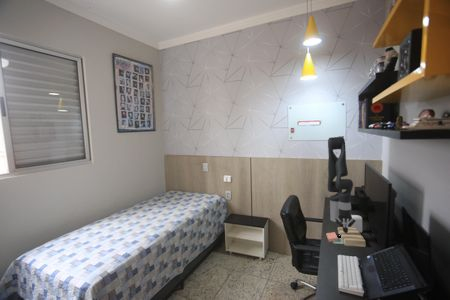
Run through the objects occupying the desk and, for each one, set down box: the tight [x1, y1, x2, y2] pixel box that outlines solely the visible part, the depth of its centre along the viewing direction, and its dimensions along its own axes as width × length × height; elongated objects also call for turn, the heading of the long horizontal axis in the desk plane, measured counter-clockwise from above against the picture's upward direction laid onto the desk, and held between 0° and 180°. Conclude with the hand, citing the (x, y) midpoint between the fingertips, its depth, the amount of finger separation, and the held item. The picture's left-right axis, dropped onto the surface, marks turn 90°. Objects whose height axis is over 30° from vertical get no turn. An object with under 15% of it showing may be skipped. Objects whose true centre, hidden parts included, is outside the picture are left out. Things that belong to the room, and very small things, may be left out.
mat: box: [332, 238, 344, 245], centre depth 157 cm, size 14×6×1 cm, turn 165°
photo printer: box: [348, 214, 363, 233], centre depth 167 cm, size 10×4×12 cm, turn 81°
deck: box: [337, 226, 367, 248], centre depth 156 cm, size 20×12×4 cm, turn 165°
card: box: [325, 231, 338, 243], centre depth 158 cm, size 9×6×2 cm, turn 166°
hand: (345, 232), depth 156 cm, fingers closed
